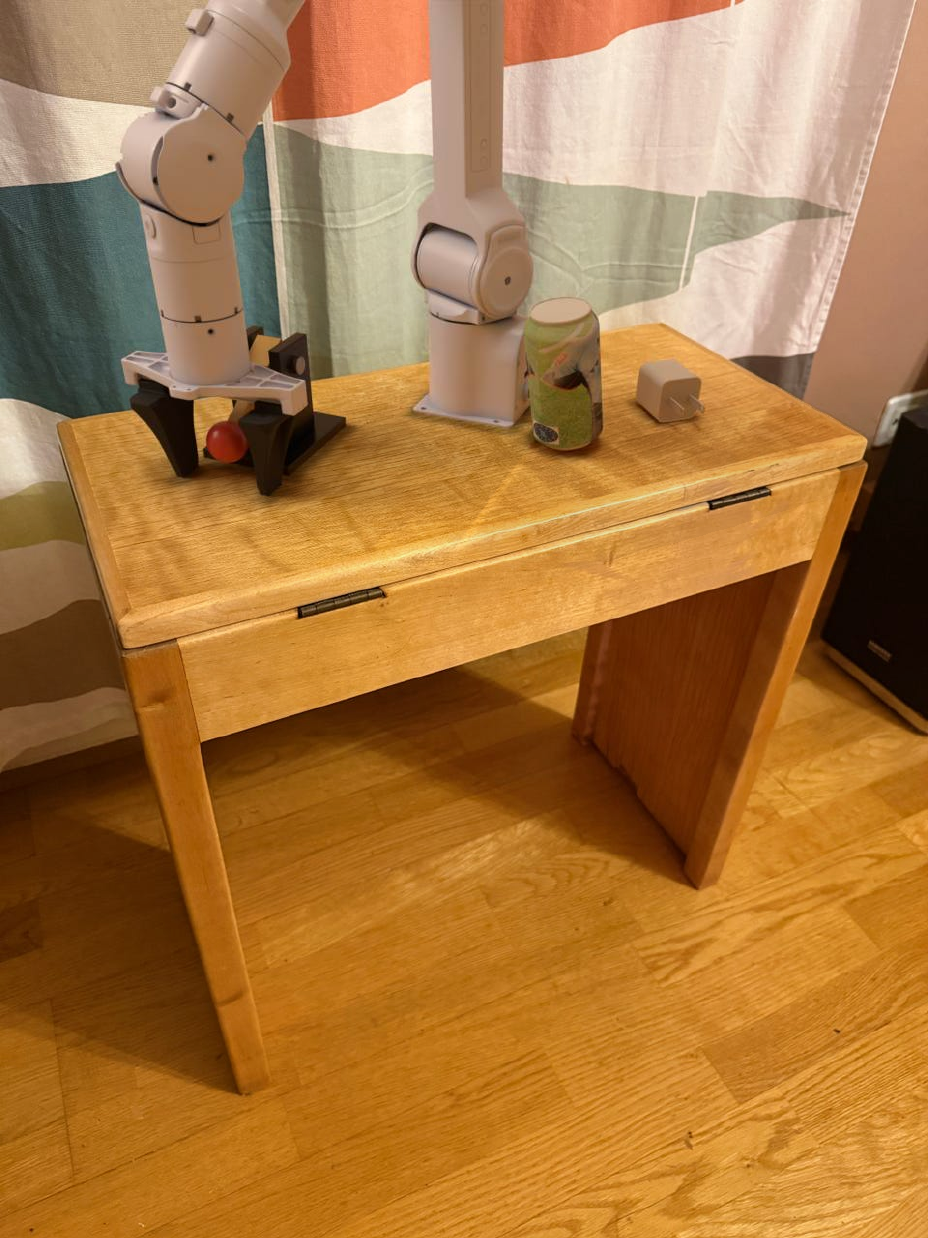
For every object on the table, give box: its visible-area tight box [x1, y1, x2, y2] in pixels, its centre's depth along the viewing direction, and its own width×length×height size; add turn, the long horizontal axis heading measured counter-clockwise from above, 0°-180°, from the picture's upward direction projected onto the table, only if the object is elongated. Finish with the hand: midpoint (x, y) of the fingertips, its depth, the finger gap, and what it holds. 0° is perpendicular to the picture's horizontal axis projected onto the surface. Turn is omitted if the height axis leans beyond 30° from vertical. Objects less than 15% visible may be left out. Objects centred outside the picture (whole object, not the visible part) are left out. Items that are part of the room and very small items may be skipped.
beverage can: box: [524, 296, 604, 451], centre depth 76 cm, size 6×7×12 cm
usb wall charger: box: [635, 358, 706, 423], centre depth 82 cm, size 4×7×4 cm, turn 18°
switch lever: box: [205, 335, 283, 464], centre depth 72 cm, size 11×3×3 cm
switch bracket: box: [202, 325, 347, 476], centre depth 75 cm, size 10×8×9 cm
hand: (229, 481), depth 72 cm, fingers open, 7 cm apart
